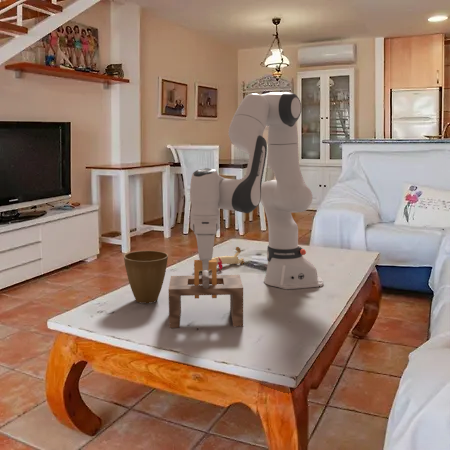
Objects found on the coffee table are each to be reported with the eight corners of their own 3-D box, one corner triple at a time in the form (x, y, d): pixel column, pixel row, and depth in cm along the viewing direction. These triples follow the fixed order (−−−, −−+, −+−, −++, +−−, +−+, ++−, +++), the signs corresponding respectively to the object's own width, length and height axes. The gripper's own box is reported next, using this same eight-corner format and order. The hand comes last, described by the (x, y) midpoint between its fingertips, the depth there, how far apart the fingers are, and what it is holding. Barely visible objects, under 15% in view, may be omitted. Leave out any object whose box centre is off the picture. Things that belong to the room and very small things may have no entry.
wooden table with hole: (239, 310, 168) (239, 268, 165) (243, 326, 154) (243, 281, 152) (171, 311, 167) (170, 269, 164) (169, 328, 153) (168, 282, 150)
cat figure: (232, 264, 231) (187, 269, 214) (233, 244, 230) (188, 248, 213) (247, 268, 223) (202, 274, 207) (248, 248, 222) (203, 253, 206)
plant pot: (131, 310, 168) (129, 262, 165) (121, 296, 182) (119, 252, 179) (174, 303, 174) (173, 257, 171) (161, 291, 188) (160, 248, 185)
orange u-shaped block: (194, 298, 157) (194, 262, 155) (194, 295, 160) (194, 259, 158) (216, 298, 158) (216, 262, 156) (216, 295, 161) (216, 259, 159)
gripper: (194, 217, 165) (195, 259, 167) (194, 229, 145) (194, 277, 147) (214, 217, 165) (214, 259, 168) (216, 229, 145) (216, 276, 148)
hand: (205, 267), depth 157 cm, fingers closed on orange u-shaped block, 3 cm apart
